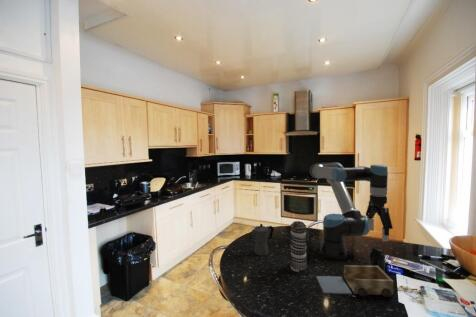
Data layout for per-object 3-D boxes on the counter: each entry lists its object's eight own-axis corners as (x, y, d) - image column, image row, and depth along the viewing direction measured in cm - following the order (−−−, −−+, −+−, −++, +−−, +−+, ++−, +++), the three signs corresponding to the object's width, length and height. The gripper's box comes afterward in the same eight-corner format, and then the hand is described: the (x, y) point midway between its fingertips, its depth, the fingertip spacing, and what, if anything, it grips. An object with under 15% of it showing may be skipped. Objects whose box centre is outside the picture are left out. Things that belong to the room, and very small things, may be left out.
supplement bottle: (366, 267, 119) (366, 245, 118) (378, 266, 119) (378, 244, 119) (375, 274, 112) (375, 251, 111) (388, 273, 113) (388, 250, 112)
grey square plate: (351, 295, 97) (323, 294, 98) (341, 278, 109) (316, 278, 110) (351, 292, 97) (323, 292, 98) (341, 276, 109) (316, 276, 110)
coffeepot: (255, 257, 131) (255, 228, 130) (248, 251, 140) (248, 223, 139) (277, 252, 137) (277, 224, 136) (269, 246, 146) (269, 219, 145)
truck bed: (356, 297, 96) (356, 281, 95) (342, 277, 110) (342, 263, 110) (394, 298, 95) (395, 282, 94) (376, 278, 109) (376, 264, 109)
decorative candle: (295, 261, 126) (295, 218, 125) (310, 267, 120) (310, 222, 118) (286, 267, 120) (286, 222, 118) (302, 274, 113) (301, 227, 112)
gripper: (402, 201, 100) (401, 246, 102) (372, 190, 125) (372, 226, 127) (385, 201, 101) (384, 246, 102) (359, 190, 126) (358, 226, 127)
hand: (377, 235), depth 114 cm, fingers open, 13 cm apart
